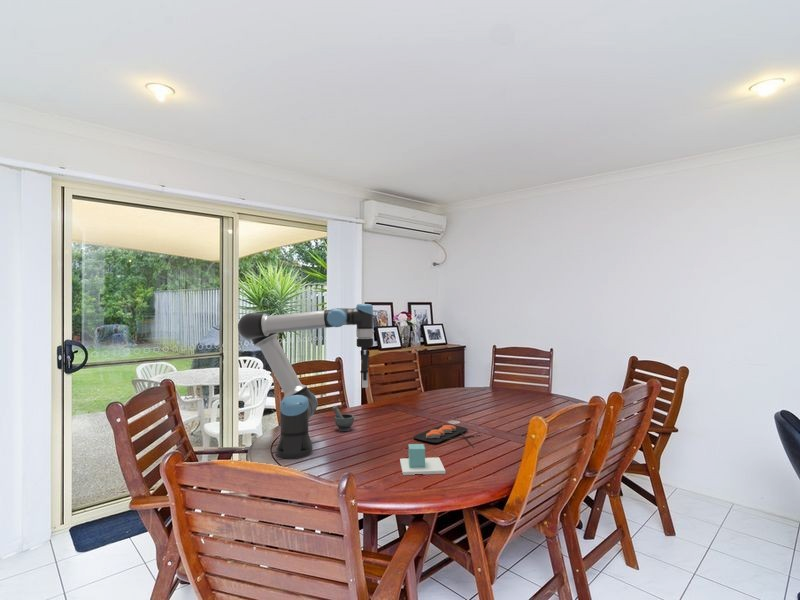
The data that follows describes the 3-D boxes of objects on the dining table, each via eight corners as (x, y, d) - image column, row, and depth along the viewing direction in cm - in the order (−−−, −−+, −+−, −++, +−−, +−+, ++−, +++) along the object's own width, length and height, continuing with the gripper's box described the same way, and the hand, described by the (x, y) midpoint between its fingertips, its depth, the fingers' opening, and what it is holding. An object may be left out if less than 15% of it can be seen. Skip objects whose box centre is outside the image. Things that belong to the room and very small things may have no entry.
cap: (409, 467, 170) (409, 449, 170) (408, 461, 176) (408, 444, 176) (425, 467, 170) (425, 448, 170) (423, 461, 176) (423, 443, 176)
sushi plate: (445, 427, 230) (445, 419, 230) (498, 438, 211) (498, 430, 211) (410, 440, 208) (410, 432, 208) (465, 454, 189) (465, 445, 189)
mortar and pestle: (356, 428, 227) (356, 404, 227) (350, 433, 218) (350, 408, 218) (335, 426, 229) (335, 403, 229) (329, 432, 220) (329, 407, 220)
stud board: (402, 475, 165) (402, 458, 165) (399, 461, 179) (399, 446, 179) (445, 473, 167) (445, 457, 167) (439, 460, 181) (439, 445, 181)
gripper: (373, 340, 190) (373, 389, 190) (372, 335, 215) (372, 379, 215) (356, 340, 190) (356, 390, 189) (357, 335, 214) (357, 379, 214)
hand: (364, 384), depth 202 cm, fingers open, 13 cm apart
